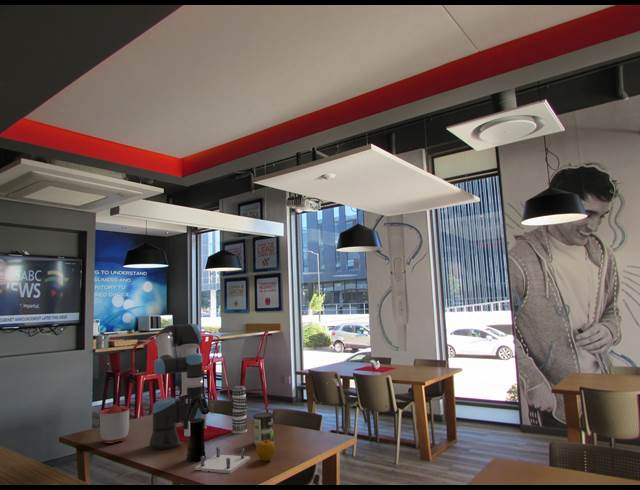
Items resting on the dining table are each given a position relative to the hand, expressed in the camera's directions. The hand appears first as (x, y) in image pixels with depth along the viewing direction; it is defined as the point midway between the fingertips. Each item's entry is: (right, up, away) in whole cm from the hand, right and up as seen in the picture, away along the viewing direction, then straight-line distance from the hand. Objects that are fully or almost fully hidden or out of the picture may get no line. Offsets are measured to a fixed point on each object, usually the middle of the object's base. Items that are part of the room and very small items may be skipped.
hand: (195, 432), depth 222 cm
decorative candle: (+13, -18, +45) cm, 50 cm away
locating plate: (+15, -11, -10) cm, 21 cm away
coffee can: (+30, -14, +20) cm, 39 cm away
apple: (+34, -10, -7) cm, 37 cm away
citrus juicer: (-55, -20, +38) cm, 70 cm away
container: (+1, -13, -1) cm, 13 cm away
